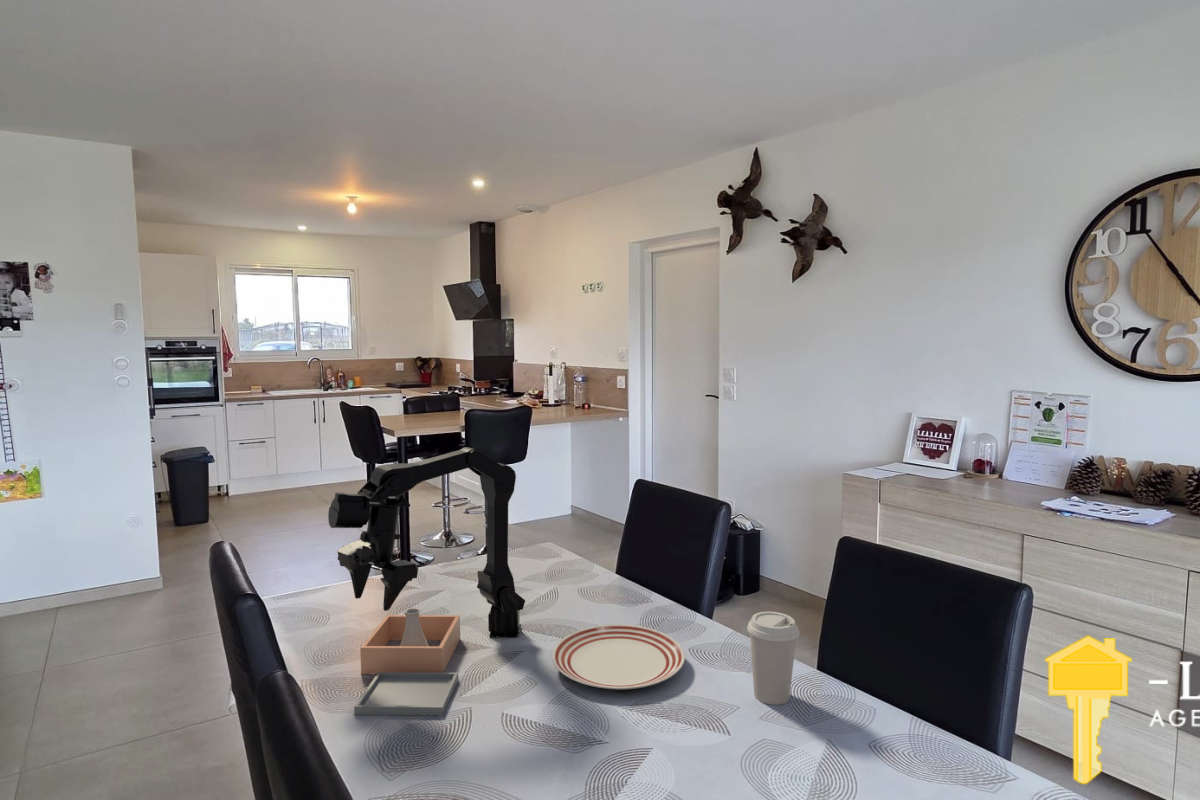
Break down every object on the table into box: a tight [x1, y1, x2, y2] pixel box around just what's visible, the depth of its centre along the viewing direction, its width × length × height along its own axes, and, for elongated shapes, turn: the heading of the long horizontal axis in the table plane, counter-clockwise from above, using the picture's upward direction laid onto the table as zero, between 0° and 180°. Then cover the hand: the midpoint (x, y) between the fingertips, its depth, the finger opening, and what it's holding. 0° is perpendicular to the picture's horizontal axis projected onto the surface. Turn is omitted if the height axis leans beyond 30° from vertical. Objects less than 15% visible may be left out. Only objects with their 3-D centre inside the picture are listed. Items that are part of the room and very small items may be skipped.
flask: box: [399, 607, 430, 646], centre depth 147 cm, size 7×7×10 cm
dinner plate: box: [551, 623, 686, 690], centre depth 143 cm, size 28×27×3 cm
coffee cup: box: [746, 611, 800, 706], centre depth 130 cm, size 10×10×15 cm
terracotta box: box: [359, 614, 461, 675], centre depth 147 cm, size 17×17×6 cm
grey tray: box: [353, 672, 459, 716], centre depth 131 cm, size 16×13×2 cm
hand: (371, 604), depth 139 cm, fingers open, 9 cm apart
